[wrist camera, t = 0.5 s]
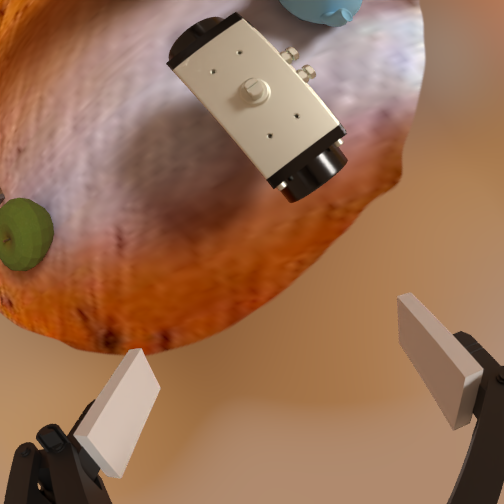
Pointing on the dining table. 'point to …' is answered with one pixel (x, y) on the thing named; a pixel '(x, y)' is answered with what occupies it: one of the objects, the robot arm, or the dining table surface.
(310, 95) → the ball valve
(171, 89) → the dining table surface
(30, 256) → the apple
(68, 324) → the dining table surface
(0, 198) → the rail
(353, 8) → the teapot
